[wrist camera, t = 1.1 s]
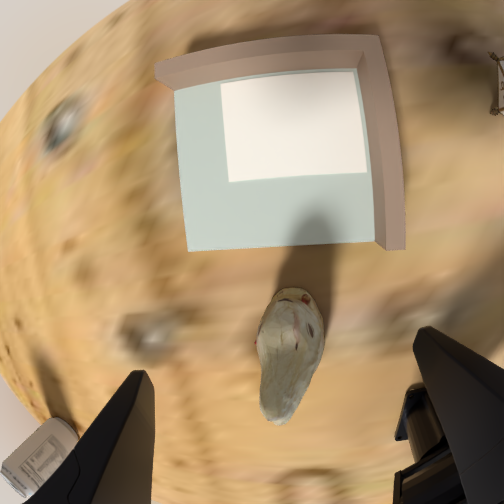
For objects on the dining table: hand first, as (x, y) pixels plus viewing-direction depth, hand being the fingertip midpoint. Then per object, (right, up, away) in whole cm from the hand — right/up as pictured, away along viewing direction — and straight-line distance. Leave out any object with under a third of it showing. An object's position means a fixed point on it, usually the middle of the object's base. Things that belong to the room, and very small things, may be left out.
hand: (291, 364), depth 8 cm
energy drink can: (-30, -24, +24) cm, 45 cm away
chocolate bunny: (+2, -2, +13) cm, 14 cm away
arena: (+1, +10, +10) cm, 15 cm away
